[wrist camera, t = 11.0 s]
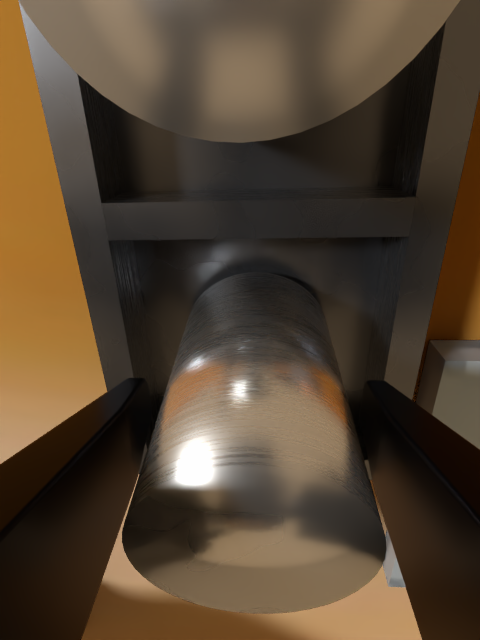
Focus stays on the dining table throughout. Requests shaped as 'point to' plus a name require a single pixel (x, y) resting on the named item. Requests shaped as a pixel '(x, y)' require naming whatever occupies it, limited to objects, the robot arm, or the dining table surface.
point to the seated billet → (237, 57)
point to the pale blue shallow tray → (446, 405)
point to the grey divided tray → (268, 213)
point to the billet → (255, 461)
